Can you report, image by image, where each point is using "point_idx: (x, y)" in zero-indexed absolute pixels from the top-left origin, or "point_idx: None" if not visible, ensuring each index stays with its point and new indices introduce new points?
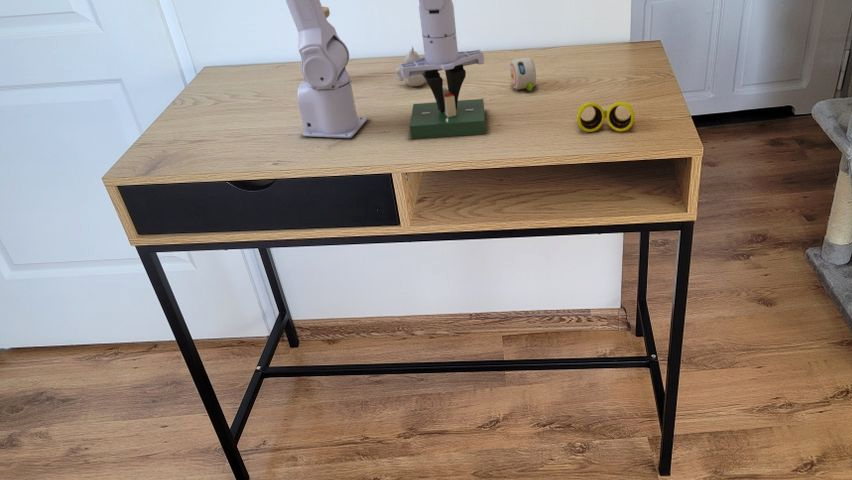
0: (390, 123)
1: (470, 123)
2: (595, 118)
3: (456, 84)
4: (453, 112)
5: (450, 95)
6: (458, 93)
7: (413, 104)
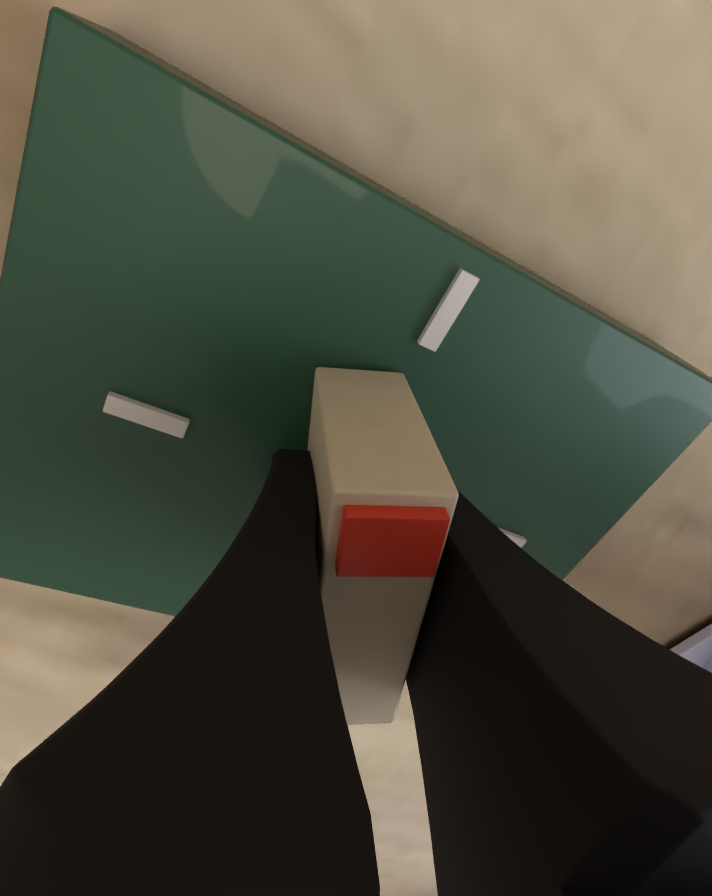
0: (589, 597)
1: (245, 112)
2: None
3: (269, 644)
4: (348, 383)
5: (388, 513)
6: (242, 541)
7: None
